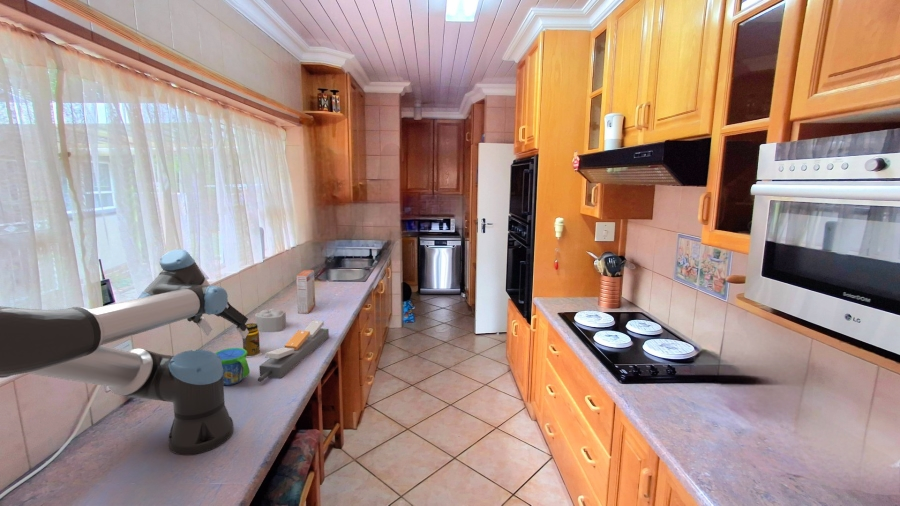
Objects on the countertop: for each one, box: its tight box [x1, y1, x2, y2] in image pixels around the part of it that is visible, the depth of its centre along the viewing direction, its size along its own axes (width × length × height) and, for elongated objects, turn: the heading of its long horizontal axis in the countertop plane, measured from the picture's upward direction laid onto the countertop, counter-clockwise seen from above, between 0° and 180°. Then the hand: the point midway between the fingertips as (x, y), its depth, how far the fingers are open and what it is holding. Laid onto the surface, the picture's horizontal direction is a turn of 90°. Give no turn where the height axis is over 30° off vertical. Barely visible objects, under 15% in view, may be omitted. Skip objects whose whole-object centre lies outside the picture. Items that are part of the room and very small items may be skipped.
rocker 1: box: [265, 347, 294, 359], centre depth 151 cm, size 11×5×2 cm, turn 172°
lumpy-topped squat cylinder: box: [254, 308, 287, 333], centre depth 192 cm, size 10×13×9 cm
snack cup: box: [215, 347, 251, 386], centre depth 141 cm, size 16×10×10 cm
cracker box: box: [295, 269, 316, 314], centre depth 220 cm, size 14×6×21 cm, turn 3°
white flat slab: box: [303, 319, 325, 338], centre depth 176 cm, size 11×5×2 cm, turn 172°
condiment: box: [242, 322, 263, 358], centre depth 163 cm, size 7×8×12 cm
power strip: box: [257, 327, 330, 383], centre depth 162 cm, size 46×8×4 cm, turn 172°
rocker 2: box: [284, 330, 310, 350], centre depth 164 cm, size 11×5×2 cm, turn 172°
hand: (227, 333), depth 139 cm, fingers open, 13 cm apart
